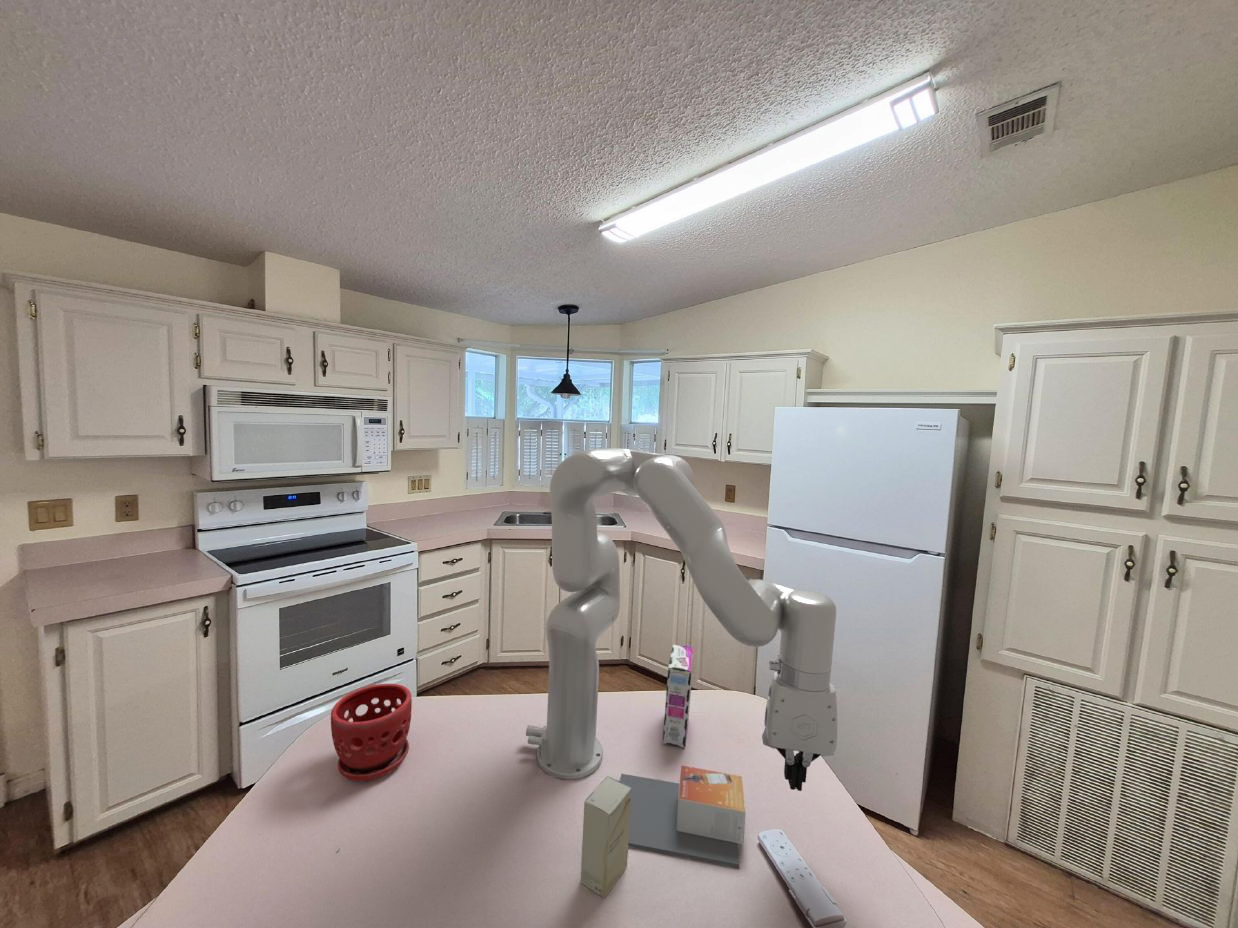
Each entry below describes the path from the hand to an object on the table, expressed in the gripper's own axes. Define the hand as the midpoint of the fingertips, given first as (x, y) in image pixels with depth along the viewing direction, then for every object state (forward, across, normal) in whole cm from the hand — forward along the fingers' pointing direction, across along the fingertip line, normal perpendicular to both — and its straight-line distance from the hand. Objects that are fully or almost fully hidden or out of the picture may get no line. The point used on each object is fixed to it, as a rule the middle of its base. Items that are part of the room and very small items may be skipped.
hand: (794, 783), depth 74 cm
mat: (+9, -18, 0) cm, 21 cm away
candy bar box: (+10, -19, +23) cm, 31 cm away
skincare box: (+10, -28, -12) cm, 32 cm away
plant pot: (+10, -74, 0) cm, 75 cm away
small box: (+6, -7, 0) cm, 9 cm away
